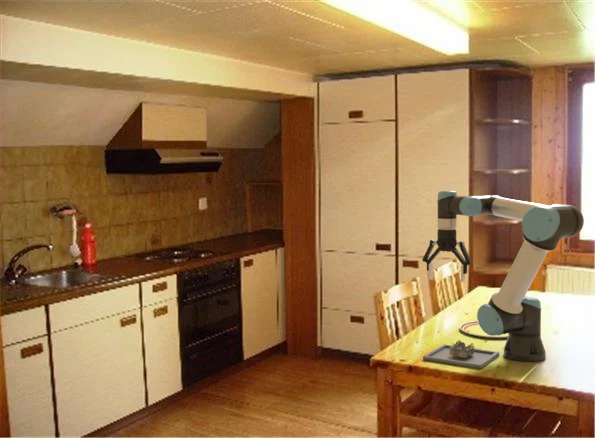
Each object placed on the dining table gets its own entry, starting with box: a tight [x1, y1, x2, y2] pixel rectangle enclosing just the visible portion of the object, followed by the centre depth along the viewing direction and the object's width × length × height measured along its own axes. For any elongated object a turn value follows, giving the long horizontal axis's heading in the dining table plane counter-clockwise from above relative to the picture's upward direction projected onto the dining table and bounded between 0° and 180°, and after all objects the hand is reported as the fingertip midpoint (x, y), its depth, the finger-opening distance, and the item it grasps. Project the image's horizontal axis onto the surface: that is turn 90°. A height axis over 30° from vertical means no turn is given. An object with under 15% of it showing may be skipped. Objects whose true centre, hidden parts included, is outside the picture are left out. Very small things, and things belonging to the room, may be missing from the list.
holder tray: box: [422, 344, 500, 370], centre depth 238 cm, size 22×20×2 cm
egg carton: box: [448, 340, 476, 358], centre depth 239 cm, size 11×8×4 cm
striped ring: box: [459, 320, 508, 339], centre depth 274 cm, size 27×27×3 cm
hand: (446, 280), depth 255 cm, fingers open, 13 cm apart
